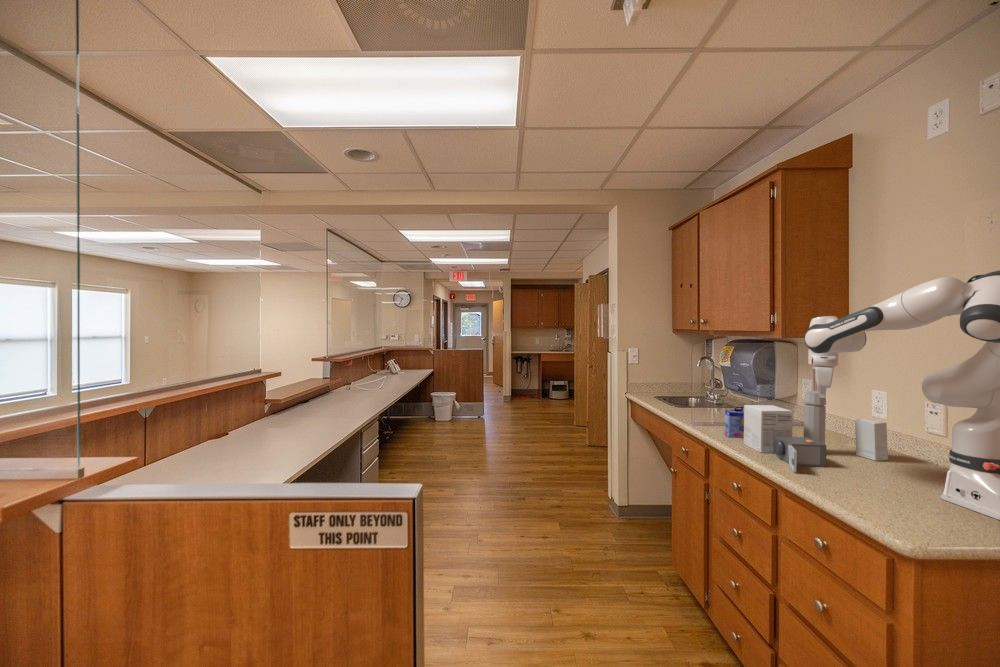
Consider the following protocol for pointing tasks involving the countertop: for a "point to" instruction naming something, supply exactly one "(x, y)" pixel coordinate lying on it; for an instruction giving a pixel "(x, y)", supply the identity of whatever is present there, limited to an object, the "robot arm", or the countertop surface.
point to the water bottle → (814, 416)
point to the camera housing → (801, 450)
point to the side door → (792, 457)
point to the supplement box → (766, 426)
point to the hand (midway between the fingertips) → (822, 397)
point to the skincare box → (871, 439)
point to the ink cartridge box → (734, 422)
